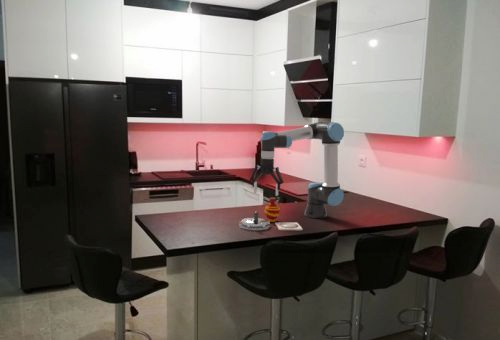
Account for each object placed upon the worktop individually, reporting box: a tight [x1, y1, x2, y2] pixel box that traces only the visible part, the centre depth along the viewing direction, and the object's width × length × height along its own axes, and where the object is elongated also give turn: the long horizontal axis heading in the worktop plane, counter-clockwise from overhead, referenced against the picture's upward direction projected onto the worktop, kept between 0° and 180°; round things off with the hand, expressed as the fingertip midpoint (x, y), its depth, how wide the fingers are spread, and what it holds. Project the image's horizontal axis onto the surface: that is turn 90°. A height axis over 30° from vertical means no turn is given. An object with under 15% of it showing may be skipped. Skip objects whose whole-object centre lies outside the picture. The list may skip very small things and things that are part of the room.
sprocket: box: [238, 211, 271, 228], centre depth 251 cm, size 19×17×9 cm
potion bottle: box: [263, 197, 281, 223], centre depth 266 cm, size 10×10×15 cm
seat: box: [275, 222, 303, 231], centre depth 253 cm, size 14×14×1 cm
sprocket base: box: [238, 223, 271, 232], centre depth 252 cm, size 19×19×1 cm
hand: (265, 194), depth 242 cm, fingers open, 13 cm apart
